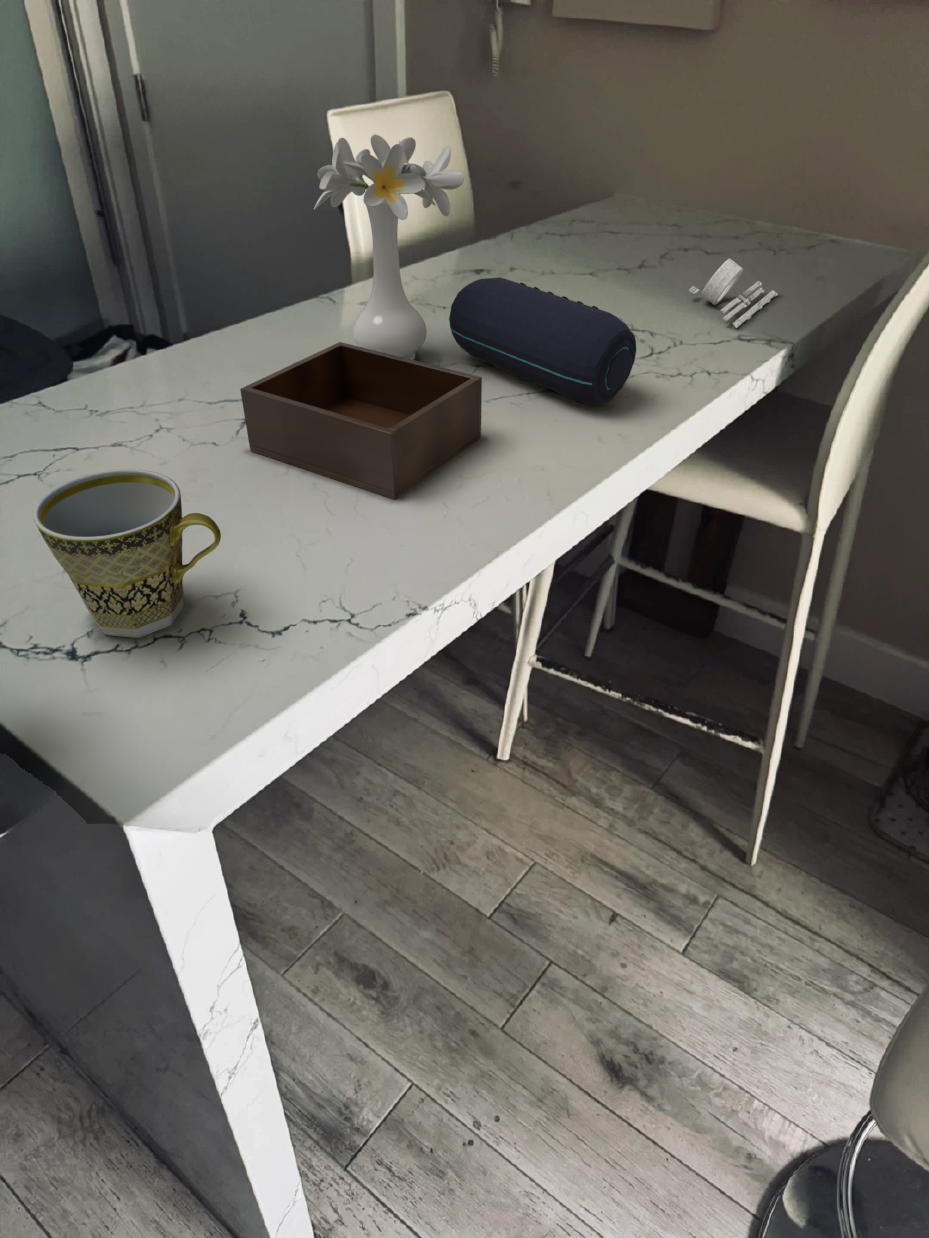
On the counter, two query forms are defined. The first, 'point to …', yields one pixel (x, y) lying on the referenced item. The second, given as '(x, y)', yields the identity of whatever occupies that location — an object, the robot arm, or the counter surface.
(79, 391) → the counter surface
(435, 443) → the crate
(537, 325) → the portable speaker
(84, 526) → the ceramic cup
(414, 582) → the counter surface
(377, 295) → the flower vase
